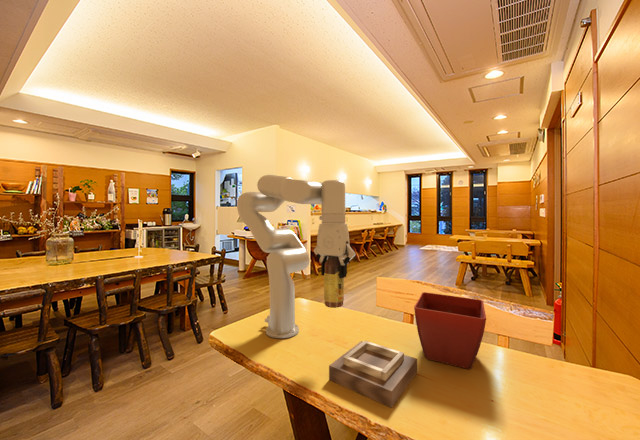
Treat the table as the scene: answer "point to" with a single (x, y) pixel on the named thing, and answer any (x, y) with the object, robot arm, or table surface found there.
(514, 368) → the table surface
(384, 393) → the condiment stand
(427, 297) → the plant pot
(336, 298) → the sauce bottle
